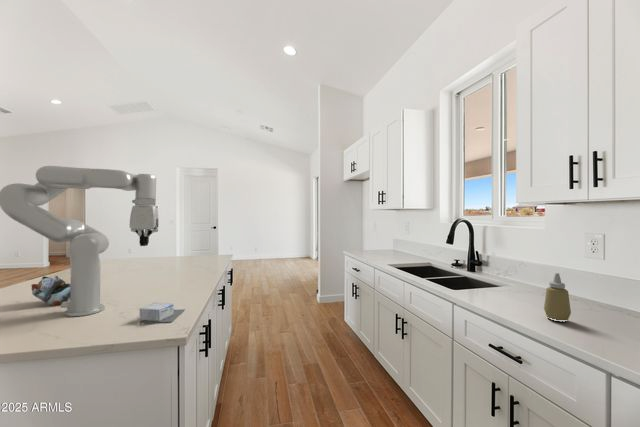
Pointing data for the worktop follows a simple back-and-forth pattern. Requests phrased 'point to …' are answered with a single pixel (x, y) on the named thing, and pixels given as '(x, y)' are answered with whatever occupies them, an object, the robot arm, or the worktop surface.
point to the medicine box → (156, 311)
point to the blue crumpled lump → (52, 290)
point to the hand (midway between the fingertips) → (143, 245)
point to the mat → (168, 319)
